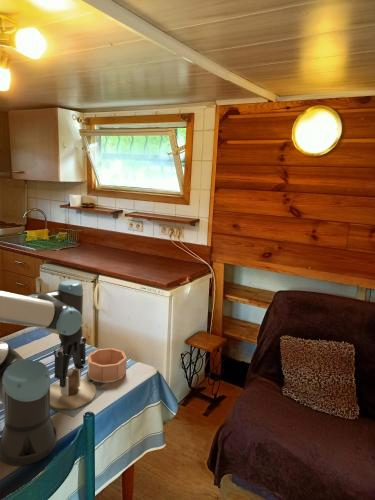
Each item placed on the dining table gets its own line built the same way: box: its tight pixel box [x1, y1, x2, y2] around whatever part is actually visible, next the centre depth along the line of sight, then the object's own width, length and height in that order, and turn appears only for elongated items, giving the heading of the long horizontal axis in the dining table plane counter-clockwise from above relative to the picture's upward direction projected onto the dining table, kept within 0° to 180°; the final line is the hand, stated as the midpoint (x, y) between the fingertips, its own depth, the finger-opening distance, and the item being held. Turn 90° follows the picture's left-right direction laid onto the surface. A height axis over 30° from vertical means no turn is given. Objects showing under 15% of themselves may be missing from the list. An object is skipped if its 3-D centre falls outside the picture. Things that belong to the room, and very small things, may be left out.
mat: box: [50, 384, 108, 418], centre depth 128 cm, size 18×18×1 cm
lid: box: [50, 369, 96, 410], centre depth 127 cm, size 17×17×8 cm
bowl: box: [86, 347, 128, 384], centre depth 143 cm, size 14×14×7 cm
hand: (70, 389), depth 128 cm, fingers open, 5 cm apart
